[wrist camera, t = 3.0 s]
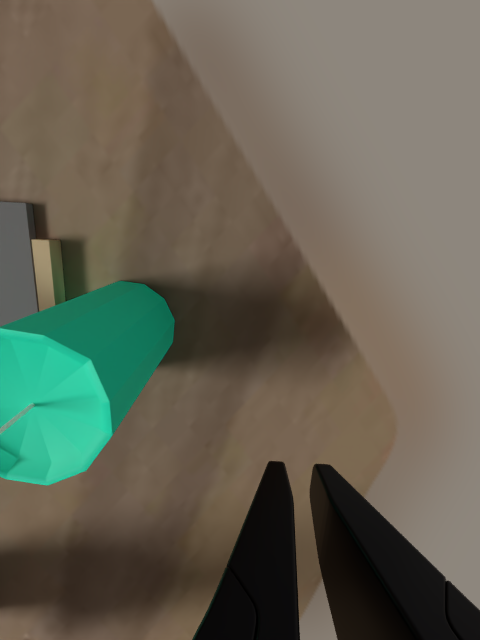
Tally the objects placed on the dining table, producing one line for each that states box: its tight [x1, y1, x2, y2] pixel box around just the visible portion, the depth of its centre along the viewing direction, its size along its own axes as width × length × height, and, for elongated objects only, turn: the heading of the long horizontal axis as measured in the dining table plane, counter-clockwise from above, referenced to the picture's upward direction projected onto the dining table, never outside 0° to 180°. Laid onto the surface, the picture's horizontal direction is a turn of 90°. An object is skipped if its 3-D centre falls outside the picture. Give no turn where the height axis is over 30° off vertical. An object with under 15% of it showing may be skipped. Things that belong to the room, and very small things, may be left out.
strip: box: [31, 239, 66, 312], centre depth 20 cm, size 10×1×1 cm, turn 177°
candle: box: [0, 281, 175, 485], centre depth 15 cm, size 6×6×12 cm
